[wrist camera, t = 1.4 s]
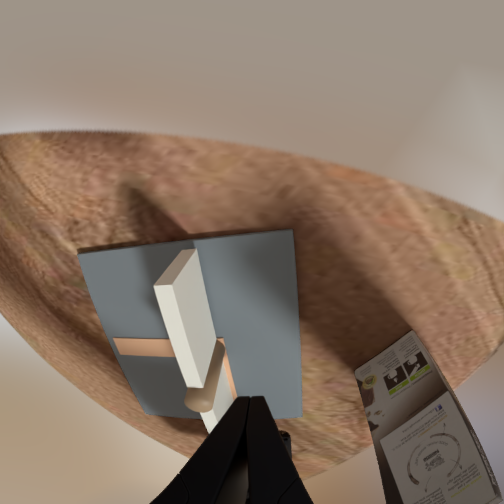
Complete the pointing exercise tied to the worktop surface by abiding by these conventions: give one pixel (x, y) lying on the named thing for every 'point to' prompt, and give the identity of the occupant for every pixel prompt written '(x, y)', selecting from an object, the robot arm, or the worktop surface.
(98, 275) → the card
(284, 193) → the worktop surface
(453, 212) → the worktop surface
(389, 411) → the coffee box
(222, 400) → the fence post and panel
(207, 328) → the fence gate panel
